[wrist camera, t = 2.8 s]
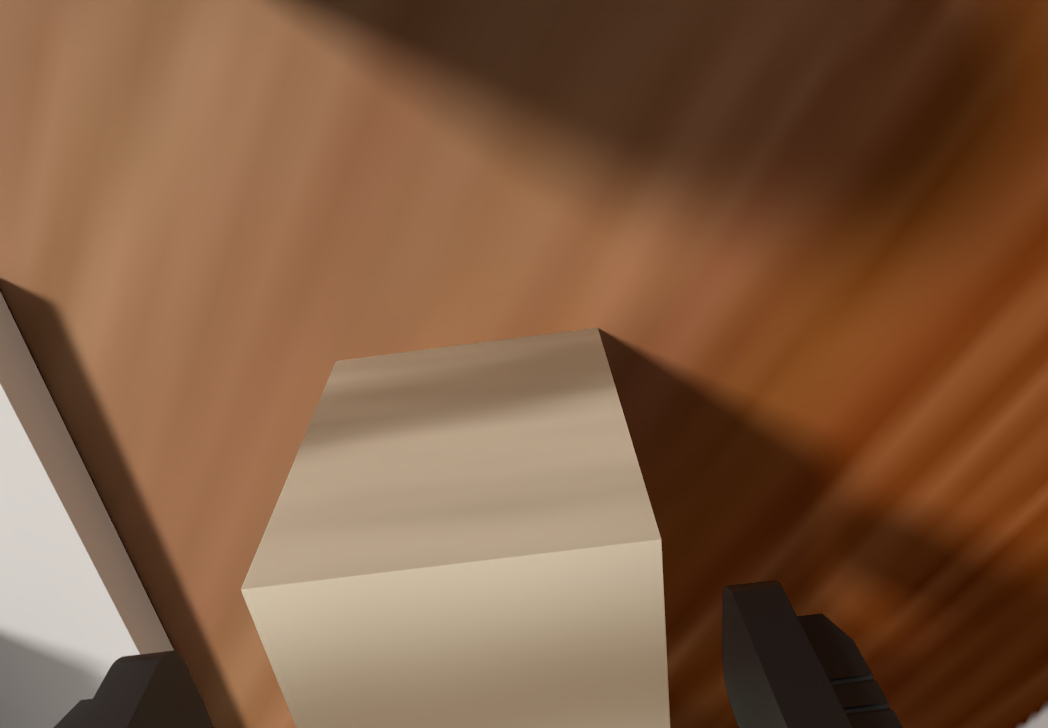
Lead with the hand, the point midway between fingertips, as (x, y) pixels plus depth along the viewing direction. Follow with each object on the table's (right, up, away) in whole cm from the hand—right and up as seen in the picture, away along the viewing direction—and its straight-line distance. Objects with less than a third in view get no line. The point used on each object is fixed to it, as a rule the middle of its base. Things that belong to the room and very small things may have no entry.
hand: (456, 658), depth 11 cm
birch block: (0, +3, +4) cm, 5 cm away
